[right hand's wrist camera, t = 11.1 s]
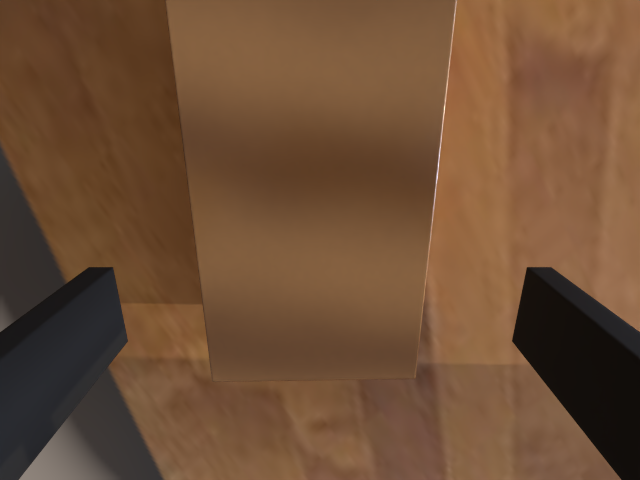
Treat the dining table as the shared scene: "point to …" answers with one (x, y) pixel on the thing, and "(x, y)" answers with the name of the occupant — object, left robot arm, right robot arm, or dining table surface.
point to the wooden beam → (312, 178)
